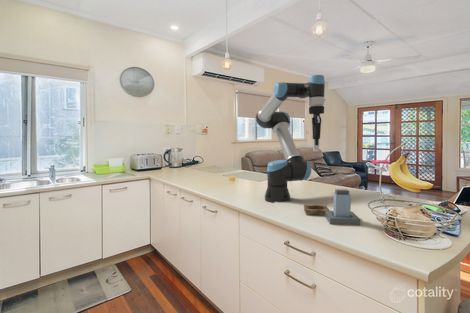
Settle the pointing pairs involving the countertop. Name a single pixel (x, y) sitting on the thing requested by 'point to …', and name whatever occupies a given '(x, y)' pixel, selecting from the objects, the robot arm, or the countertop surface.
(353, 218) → the port
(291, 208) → the countertop surface
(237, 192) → the countertop surface
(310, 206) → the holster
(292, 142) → the robot arm
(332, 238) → the countertop surface
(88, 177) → the countertop surface
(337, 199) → the plug
